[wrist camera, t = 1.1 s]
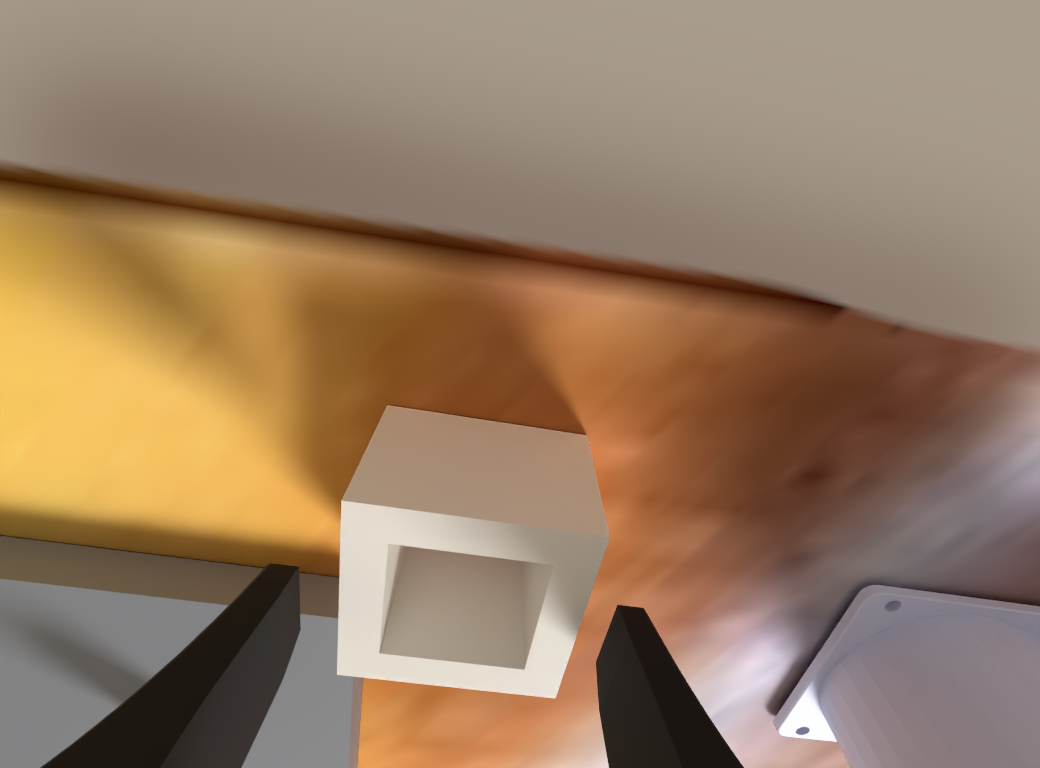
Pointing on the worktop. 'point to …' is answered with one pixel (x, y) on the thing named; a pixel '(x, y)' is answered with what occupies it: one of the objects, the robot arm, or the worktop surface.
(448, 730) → the worktop surface
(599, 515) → the collar
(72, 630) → the shaft board
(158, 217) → the worktop surface
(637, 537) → the worktop surface
